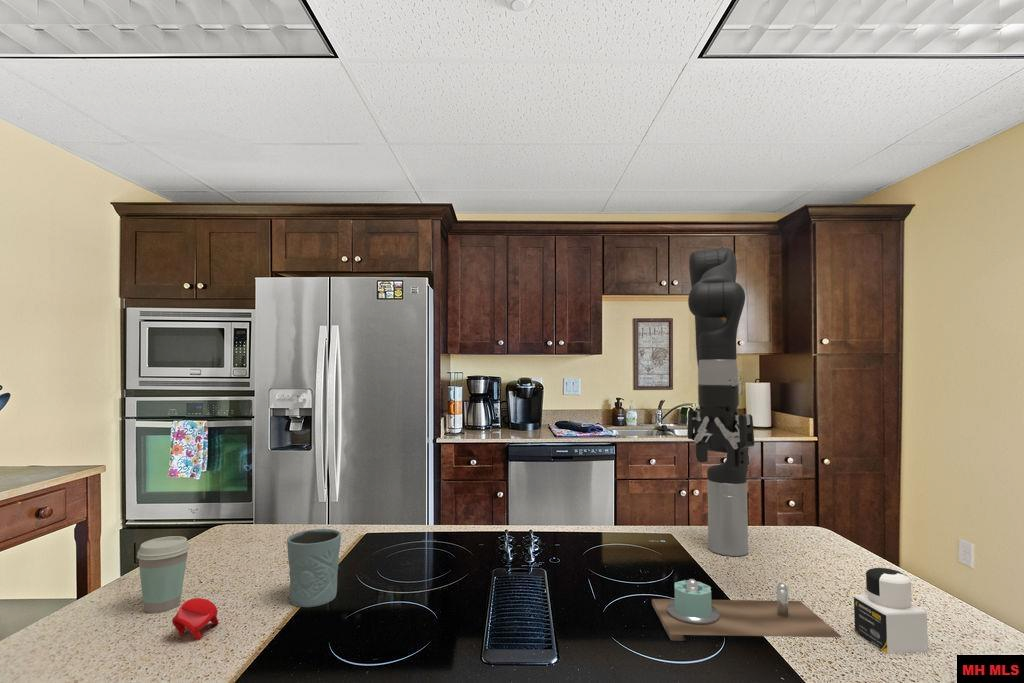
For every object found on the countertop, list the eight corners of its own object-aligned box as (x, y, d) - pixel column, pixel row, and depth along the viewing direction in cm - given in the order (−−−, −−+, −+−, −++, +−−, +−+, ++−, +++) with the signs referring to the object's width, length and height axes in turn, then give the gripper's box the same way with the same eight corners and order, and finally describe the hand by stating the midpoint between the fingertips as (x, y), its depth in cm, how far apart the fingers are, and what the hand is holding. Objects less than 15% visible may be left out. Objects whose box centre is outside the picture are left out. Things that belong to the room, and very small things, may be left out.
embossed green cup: (300, 613, 100) (302, 547, 101) (276, 598, 107) (277, 536, 107) (350, 596, 108) (351, 535, 108) (324, 583, 114) (325, 525, 115)
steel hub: (661, 602, 103) (661, 569, 103) (709, 603, 102) (709, 570, 103) (674, 624, 94) (673, 589, 94) (727, 625, 93) (726, 589, 94)
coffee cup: (198, 600, 106) (200, 537, 106) (157, 619, 98) (159, 551, 98) (166, 594, 108) (168, 533, 109) (123, 612, 100) (125, 546, 101)
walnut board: (651, 604, 104) (651, 598, 104) (800, 606, 103) (800, 600, 103) (670, 640, 90) (670, 634, 90) (842, 643, 89) (842, 637, 89)
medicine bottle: (854, 637, 91) (851, 564, 92) (893, 635, 92) (891, 563, 93) (886, 660, 84) (883, 580, 85) (929, 658, 85) (926, 579, 85)
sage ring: (667, 606, 99) (667, 584, 100) (692, 600, 102) (691, 578, 102) (693, 620, 94) (693, 596, 94) (718, 613, 97) (718, 590, 97)
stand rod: (775, 612, 98) (774, 581, 99) (785, 612, 98) (784, 581, 99) (780, 616, 97) (779, 585, 97) (790, 617, 97) (789, 585, 97)
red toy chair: (191, 628, 87) (221, 597, 92) (163, 611, 89) (195, 581, 94) (201, 653, 92) (229, 622, 97) (175, 637, 94) (204, 607, 98)
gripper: (677, 382, 112) (678, 461, 112) (734, 383, 100) (736, 473, 99) (703, 381, 116) (704, 458, 115) (762, 383, 103) (764, 469, 103)
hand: (719, 465), depth 107 cm, fingers open, 8 cm apart
